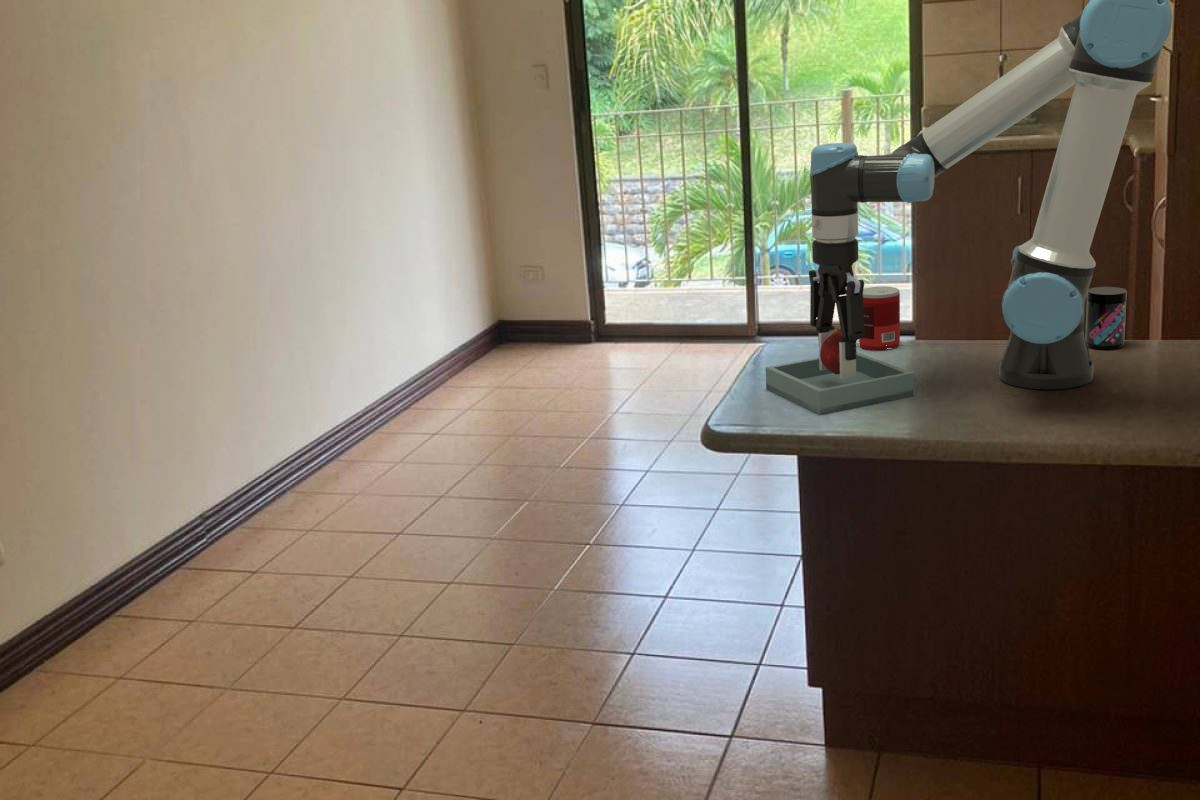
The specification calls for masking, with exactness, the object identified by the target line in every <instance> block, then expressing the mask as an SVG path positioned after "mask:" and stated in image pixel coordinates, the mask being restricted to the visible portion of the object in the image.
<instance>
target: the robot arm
mask: <svg viewBox="0 0 1200 800" xmlns="http://www.w3.org/2000/svg"><path fill="white" fill-rule="evenodd" d="M1172 15H1173V14H1172V9H1171V4H1170V2H1169V1H1168V0H1088V2H1087V4H1086V6H1085V8H1084V9H1083V10H1082V11H1081V12H1080V13H1079V14H1078V15H1076V16H1075V17H1074V18H1073V19H1071V20H1070V21H1068V22H1067V23H1066V24H1065V25H1063V26H1060V30H1059V34H1058V37H1057V38H1056V39H1054V40H1052V41H1051V42H1049V43H1048V44H1047V45H1045V46H1044V47H1042V48H1041V49H1039V50H1038V51H1037V52H1036V53H1034V54H1032V55H1031V56H1029V57H1027V58H1026V59H1025V60H1023V61H1022V62H1021V63H1019V64H1018V65H1017V66H1015V67H1014V68H1012V69H1011V70H1009V71H1008V72H1006V73H1005V74H1004V75H1002V76H1001V77H999V78H998V79H996V80H995V81H993V82H992V83H991V84H989V85H988V86H986V87H984V88H983V89H982V90H980V91H979V92H978V93H976V94H974V95H973V96H971V97H970V98H968V100H966V101H965V102H963V103H962V104H960V105H958V106H957V107H956V108H955V109H953V110H951V112H949V113H947V114H946V115H944V116H943V117H941V118H940V119H938V120H936V122H935V123H933V124H932V125H929V126H928V127H927V128H926V129H924V130H923V131H922V132H920V133H919V134H917V135H916V136H914V137H913V138H911V139H910V140H908V141H907V142H905V144H904V143H903V144H902V145H900V146H899V147H897V148H896V149H894V150H893V151H892V152H891V153H889V154H879V155H878V154H876V155H863V154H862V155H861V154H859V152H858V149H857V148H858V147H857V146H856V144H854V143H851V142H846V143H845V142H835V143H833V142H832V143H823V144H818V145H817V146H814V147H813V148H812V150H811V152H810V173H809V179H810V199H811V223H810V226H811V235H812V238H813V239H815V240H813V242H812V243H811V249H812V251H811V252H812V253H811V254H812V262H813V264H815V265H818V268H817V269H812V270H809V271H808V278H809V283H810V285H809V287H810V293H809V294H810V303H809V306H810V309H809V312H810V313H809V316H810V317H809V319H810V321H809V323H810V326H811V327H812V328H813V327H814V328H815V331H816V332H817V333H818V336H817V337H818V358H819V370H821V371H823V370H828V369H827V368H826V367H825V366H824V365H823V363H822V361H821V358H820V350H821V346H822V344H823V342H824V341H825V340H826V339H827V338H828V337H830V336H831V335H832V334H833V332H834V330H835V329H836V327H835V326H834V325H833V321H834V320H833V319H834V314H835V309H836V310H837V311H836V312H837V315H838V317H837V318H838V321H839V330H841V334H842V339H839V355H840V379H847V378H852V377H856V352H857V340H858V341H859V339H861V338H864V337H865V332H864V310H863V289H864V288H865V281H864V279H857V278H855V277H854V276H855V274H854V271H853V270H854V269H853V264H855V263H857V262H858V260H859V241H858V239H857V238H856V237H858V236H859V212H858V204H859V203H864V204H865V203H866V204H867V203H907V204H911V203H914V202H925V201H929V200H930V199H931V197H932V196H933V193H934V190H935V178H937V177H938V176H939V175H940V174H942V173H943V172H945V171H946V170H947V169H949V168H951V167H952V166H953V165H955V164H956V163H958V162H960V161H961V160H963V159H964V158H965V157H967V156H969V155H970V154H972V153H974V152H975V151H976V150H978V149H979V148H980V147H982V146H984V145H985V144H987V143H988V142H990V141H991V140H993V139H994V138H996V137H997V136H999V135H1001V134H1002V133H1004V132H1005V131H1006V130H1008V129H1009V128H1011V127H1012V126H1014V125H1015V124H1017V123H1018V122H1021V120H1023V119H1025V118H1026V117H1027V116H1029V115H1031V114H1032V113H1033V112H1035V111H1036V110H1038V109H1040V108H1041V107H1043V106H1044V105H1045V104H1047V103H1049V102H1050V101H1052V100H1053V99H1055V98H1056V97H1058V96H1059V95H1061V94H1063V92H1065V91H1067V90H1068V89H1069V88H1071V87H1073V86H1074V85H1075V86H1074V88H1073V92H1072V95H1071V96H1072V97H1071V100H1070V104H1069V106H1068V110H1067V113H1066V118H1065V120H1064V124H1063V128H1062V131H1061V135H1060V138H1059V142H1058V145H1057V149H1056V153H1055V156H1054V159H1053V162H1052V166H1051V171H1050V173H1049V177H1048V181H1047V184H1046V188H1045V190H1044V191H1045V192H1044V194H1043V198H1042V201H1041V206H1040V209H1039V213H1038V215H1037V220H1036V224H1035V226H1034V230H1033V234H1032V237H1031V238H1030V239H1029V240H1027V241H1026V242H1023V244H1021V245H1016V246H1015V248H1013V251H1012V258H1011V259H1010V263H1011V266H1012V267H1011V275H1010V279H1009V281H1008V284H1007V288H1006V290H1005V292H1004V293H1003V296H1002V298H1001V299H1002V300H1001V308H1002V309H1001V311H1002V315H1003V319H1004V321H1005V323H1006V325H1007V327H1008V328H1009V330H1010V335H1009V338H1008V339H1007V342H1006V343H1007V344H1006V346H1005V350H1004V353H1003V357H1002V358H1001V360H1000V362H999V364H998V368H999V370H998V371H999V372H998V377H999V380H1000V381H1002V382H1003V383H1006V384H1008V385H1012V386H1015V387H1019V388H1020V387H1021V388H1025V389H1033V390H1034V389H1035V390H1063V389H1064V390H1066V389H1072V388H1078V387H1079V388H1080V387H1082V386H1085V385H1088V384H1090V383H1091V382H1093V379H1094V363H1093V361H1092V360H1091V356H1090V355H1091V354H1090V350H1089V347H1088V346H1087V344H1086V340H1085V337H1086V336H1085V333H1084V332H1085V311H1086V310H1085V309H1086V300H1087V292H1088V289H1090V285H1091V282H1092V278H1093V275H1094V271H1095V268H1096V265H1097V262H1096V261H1095V259H1094V257H1093V256H1092V255H1091V252H1090V249H1091V246H1092V243H1093V239H1094V237H1095V233H1096V229H1097V226H1098V223H1099V219H1100V216H1101V213H1102V209H1103V206H1104V204H1105V200H1106V196H1107V193H1108V190H1109V186H1110V183H1111V180H1112V177H1113V173H1114V170H1115V167H1116V162H1117V160H1118V157H1119V153H1120V151H1121V147H1122V144H1123V140H1124V136H1125V133H1126V130H1127V127H1128V123H1129V120H1130V117H1131V113H1132V110H1133V107H1134V104H1135V101H1136V97H1137V94H1138V93H1140V92H1141V91H1142V90H1144V89H1146V88H1147V87H1149V86H1150V85H1151V84H1152V82H1153V80H1154V79H1153V78H1154V75H1155V72H1156V69H1157V67H1158V66H1157V65H1158V62H1159V59H1160V57H1161V54H1162V49H1163V46H1164V45H1165V42H1166V41H1167V39H1168V37H1169V35H1170V32H1171V28H1172V23H1173V22H1172V21H1173V16H1172ZM835 307H836V308H835Z"/></svg>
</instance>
